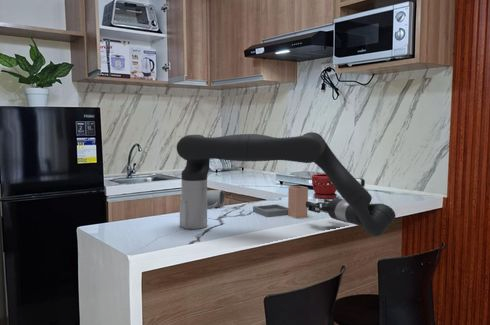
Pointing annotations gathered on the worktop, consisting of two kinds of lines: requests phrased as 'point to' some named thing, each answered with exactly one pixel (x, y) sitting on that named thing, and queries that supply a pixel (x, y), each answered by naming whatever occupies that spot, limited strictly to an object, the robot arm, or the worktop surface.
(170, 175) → the worktop surface
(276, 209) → the tray
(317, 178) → the plant pot
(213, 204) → the ceramic mug
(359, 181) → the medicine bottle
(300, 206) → the cup
